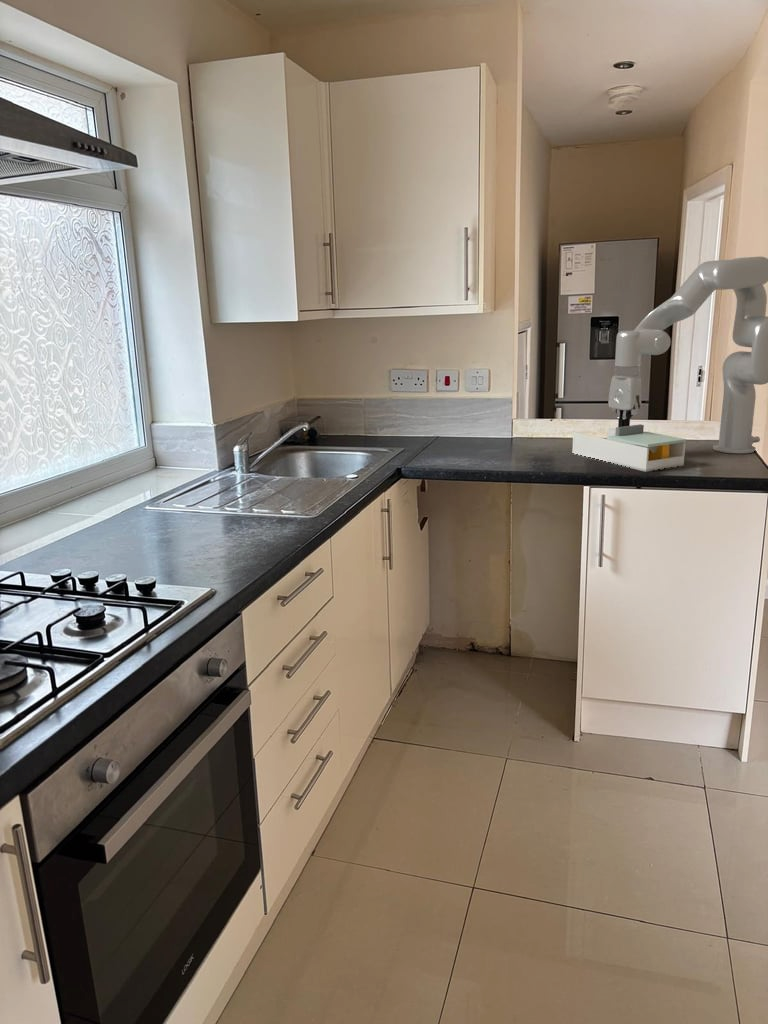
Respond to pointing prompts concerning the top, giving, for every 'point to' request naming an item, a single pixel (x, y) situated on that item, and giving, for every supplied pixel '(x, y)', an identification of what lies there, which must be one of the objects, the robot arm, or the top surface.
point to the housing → (626, 452)
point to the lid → (643, 437)
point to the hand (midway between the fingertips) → (623, 431)
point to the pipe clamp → (659, 452)
